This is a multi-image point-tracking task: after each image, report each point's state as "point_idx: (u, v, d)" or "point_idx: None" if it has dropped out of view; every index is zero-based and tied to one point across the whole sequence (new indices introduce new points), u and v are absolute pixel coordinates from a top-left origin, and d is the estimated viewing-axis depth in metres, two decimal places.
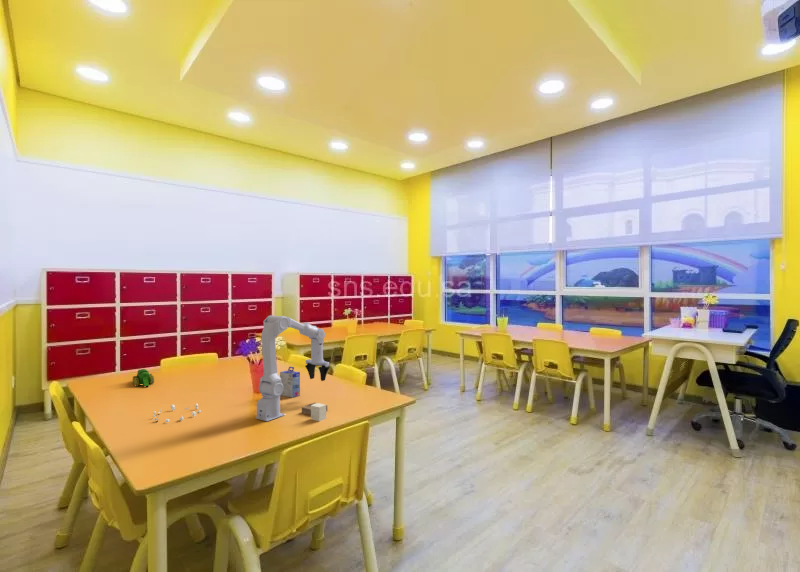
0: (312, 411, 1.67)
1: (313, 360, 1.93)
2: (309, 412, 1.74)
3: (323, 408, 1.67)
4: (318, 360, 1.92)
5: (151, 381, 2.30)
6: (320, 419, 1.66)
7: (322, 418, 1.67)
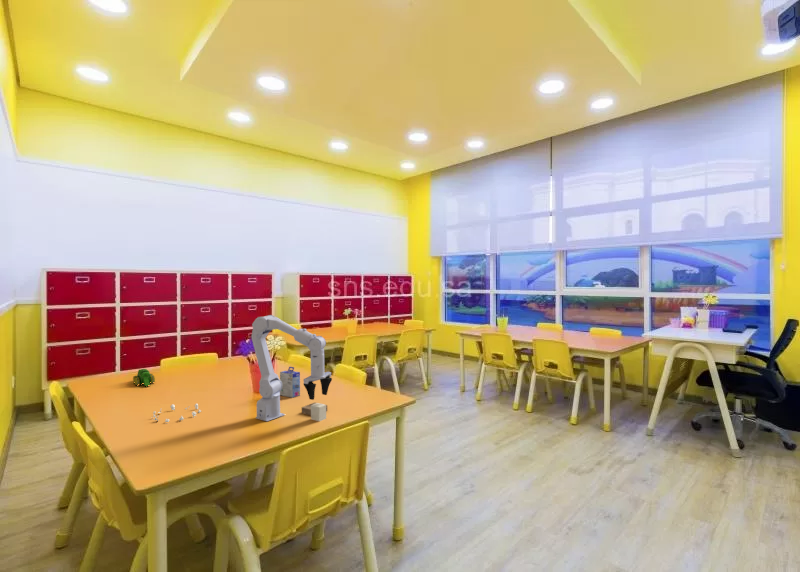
0: (312, 411, 1.67)
1: None
2: (309, 412, 1.74)
3: (323, 408, 1.67)
4: (311, 374, 1.67)
5: (152, 381, 2.31)
6: (320, 419, 1.66)
7: (322, 418, 1.67)
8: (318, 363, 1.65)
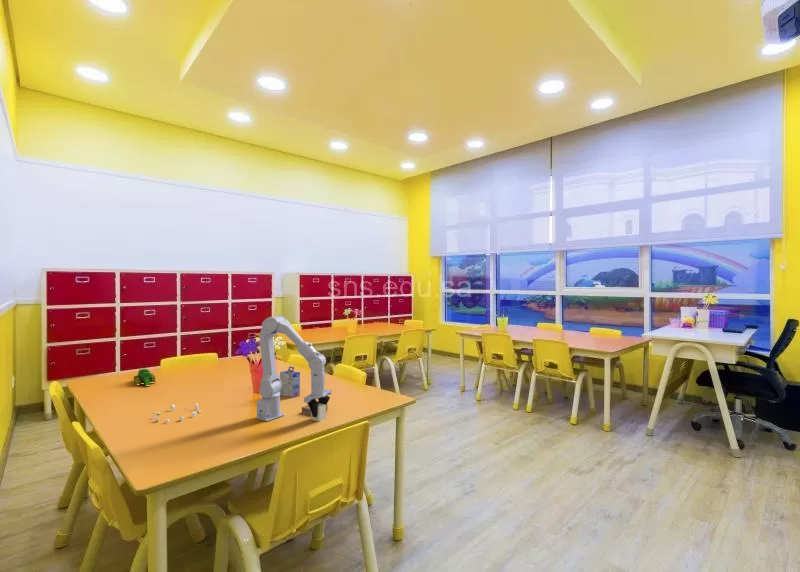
0: None
1: None
2: (309, 412, 1.74)
3: (323, 408, 1.67)
4: (311, 392, 1.67)
5: (152, 381, 2.32)
6: (320, 419, 1.66)
7: (322, 418, 1.67)
8: (318, 382, 1.65)
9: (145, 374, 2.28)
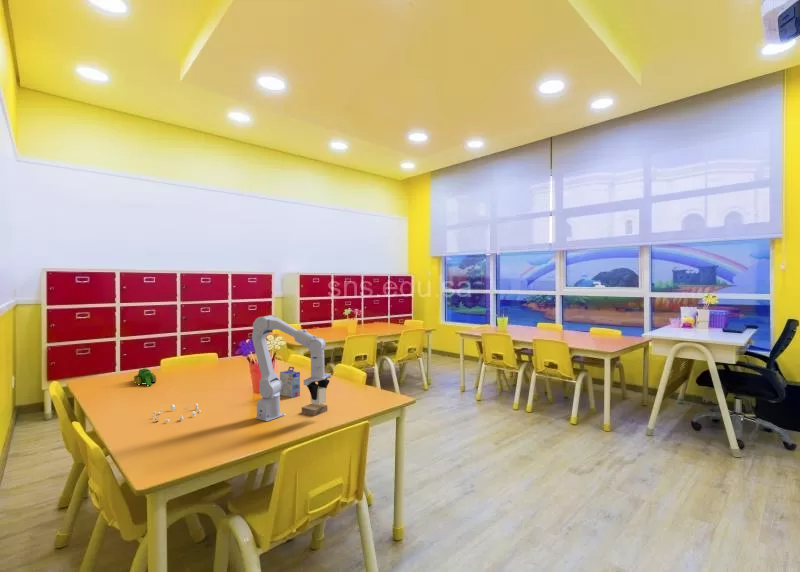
0: None
1: None
2: (309, 412, 1.74)
3: (322, 391, 1.67)
4: (311, 375, 1.67)
5: (153, 380, 2.32)
6: (320, 402, 1.66)
7: (322, 401, 1.67)
8: (318, 364, 1.65)
9: (146, 374, 2.29)
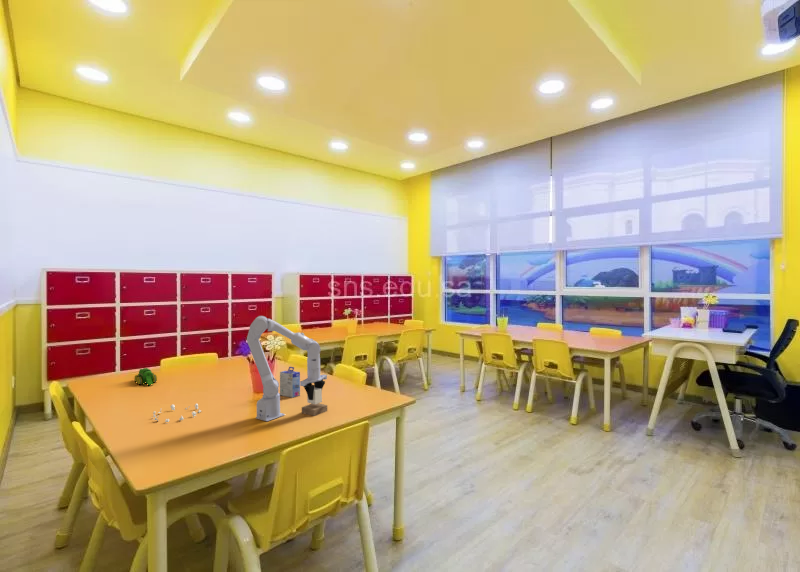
0: None
1: None
2: (309, 412, 1.74)
3: (318, 392, 1.76)
4: None
5: (154, 380, 2.33)
6: (316, 402, 1.75)
7: (318, 401, 1.76)
8: (317, 366, 1.75)
9: (147, 373, 2.30)
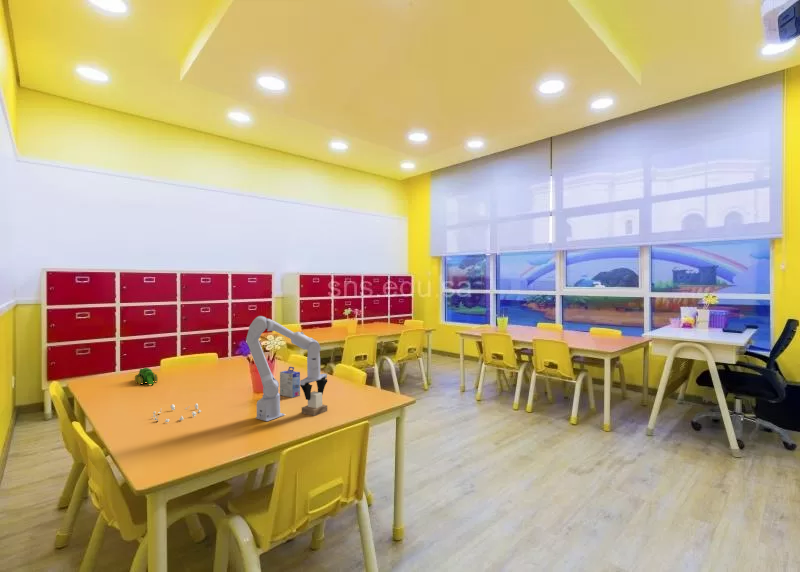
0: None
1: None
2: (309, 412, 1.74)
3: (319, 396, 1.76)
4: (307, 375, 1.76)
5: (155, 379, 2.34)
6: (317, 406, 1.75)
7: (318, 405, 1.76)
8: (317, 365, 1.75)
9: (147, 373, 2.30)
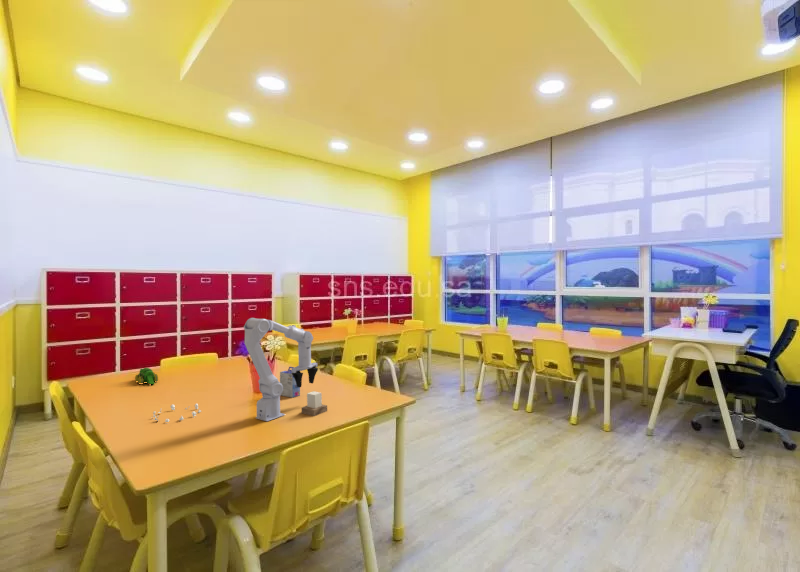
0: (308, 399, 1.76)
1: None
2: (309, 412, 1.73)
3: (318, 396, 1.76)
4: None
5: (155, 379, 2.34)
6: (316, 406, 1.75)
7: (318, 405, 1.76)
8: (310, 353, 1.85)
9: (148, 373, 2.31)
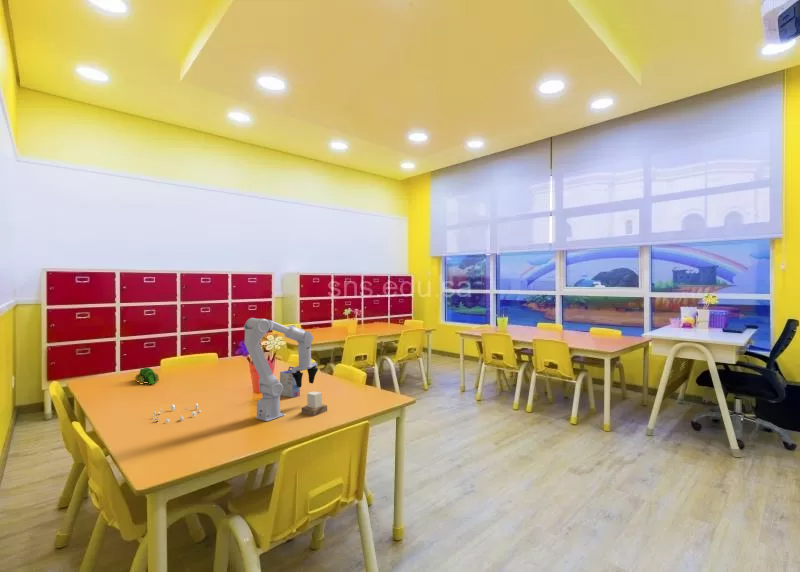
0: (308, 399, 1.76)
1: None
2: (309, 412, 1.74)
3: (318, 396, 1.76)
4: None
5: (156, 379, 2.35)
6: (316, 406, 1.75)
7: (318, 405, 1.76)
8: (310, 353, 1.85)
9: (149, 373, 2.32)
